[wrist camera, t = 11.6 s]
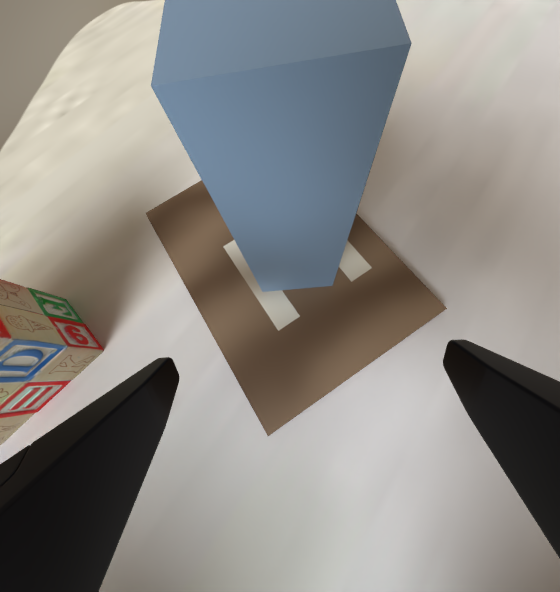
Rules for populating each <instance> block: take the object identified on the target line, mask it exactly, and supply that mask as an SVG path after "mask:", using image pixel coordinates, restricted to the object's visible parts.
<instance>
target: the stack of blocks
mask: <svg viewBox="0 0 560 592" xmlns="http://www.w3.org/2000/svg"><path fill="white" fill-rule="evenodd" d="M103 351H104V349H103V348H102V346H101V345H100V344H99V342H98V341H97V340H96V338H95V337H94V336H93V334H92V333H91V332H90V330H89V329H88V328H87V326H86V325H85V324H84V323H83V322H82V321H81V319H80V318H79V317H78V315H77V314H76V312H75V311H74V310H73V308H72V307H71V306H70V304H69V303H68V301H67V300H66V299H63V298H60V297H57V296H54V295H51V294H47V293H44V292H41V291H38V290H35V289H31V288H25V287H23V286H20V285H17V284H14V283H11V282H8V281H4V280H1V279H0V445H1V444H2V443H3V442H5V441H6V440H7V439H8V438H9V437H10V436H11V435H12V434H13V433H14V432H15V431H16V430H17V429H18V428H20V427H21V426H22V425H23V424H24V423H25V422H26V421H27V420H28V419H29V418H30V417H31V416H32V415H33V414H34V413H36V412H38V411H39V410H40V409H41V408H42V407H43V406H45V405H46V404H47V403H48V402H49V401H50V400H51V399H52V398H53V397H54V396H55V395H56V394H57V393H59V392H60V391H61V390H62V389H63V388H64V387H65V386H66V385H67V384H68V383H69V382H70V381H71V380H72V379H74V378H75V377H76V376H77V375H78V374H79V373H81V372H82V371H83V370H84V369H85V368H86V367H87V366H88V365H89V364H90V363H91V362H92V361H94V360H95V359H96V358H97V357H98V356H99V355H100V354H101V353H102V352H103Z"/></svg>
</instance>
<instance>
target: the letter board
mask: <svg viewBox="0 0 560 592" xmlns="http://www.w3.org/2000/svg"><path fill="white" fill-rule="evenodd" d="M146 215H147V217H148V218H149V220H150V222H151V224H152V226H153V228H154V229H155V231H156V233H157V235H158V237H159V238H160V240H161V242H162V244H163V246H164V248H165V249H166V251H167V253H168V255H169V257H170V259H171V260H172V262H173V264H174V266H175V268H176V269H177V271H178V273H179V275H180V277H181V279H182V280H183V282H184V284H185V286H186V288H187V289H188V291H189V293H190V295H191V297H192V299H193V300H194V302H195V304H196V306H197V308H198V309H199V311H200V313H201V315H202V317H203V319H204V320H205V322H206V324H207V326H208V328H209V330H210V331H211V333H212V335H213V337H214V339H215V340H216V342H217V344H218V346H219V348H220V350H221V351H222V353H223V355H224V357H225V359H226V360H227V362H228V364H229V366H230V368H231V370H232V371H233V373H234V375H235V377H236V379H237V380H238V382H239V384H240V386H241V388H242V390H243V391H244V393H245V395H246V397H247V399H248V400H249V402H250V404H251V406H252V408H253V410H254V411H255V413H256V415H257V417H258V419H259V421H260V422H261V424H262V426H263V428H264V430H265V431H266V433H267V435H268V436H269V435H270V434H272V433H273V432H275V431H276V430H277V429H279V428H280V427H282V426H283V425H284V424H286V423H287V422H289V421H290V420H291V419H293V418H294V417H296V416H297V415H298V414H300V413H301V412H303V411H304V410H305V409H307V408H308V407H310V406H311V405H312V404H314V403H315V402H317V401H318V400H319V399H321V398H322V397H324V396H325V395H326V394H328V393H329V392H331V391H332V390H333V389H335V388H336V387H338V386H339V385H340V384H342V383H343V382H345V381H346V380H347V379H349V378H350V377H352V376H353V375H354V374H356V373H357V372H359V371H360V370H361V369H363V368H364V367H366V366H367V365H368V364H370V363H371V362H373V361H374V360H375V359H377V358H378V357H380V356H381V355H382V354H384V353H385V352H387V351H388V350H389V349H391V348H392V347H394V346H395V345H396V344H398V343H399V342H401V341H402V340H403V339H405V338H406V337H408V336H409V335H410V334H412V333H413V332H415V331H416V330H417V329H419V328H420V327H422V326H423V325H424V324H426V323H427V322H429V321H430V320H431V319H433V318H434V317H436V316H437V315H438V314H440V313H441V312H443V311H444V310H445V309H447V308H446V307H445V306H444V305H443V304H442V303H441V302H440V301H439V300H438V299H437V298H436V297H435V296H434V294H433V293H432V292H431V291H430V290H429V289H428V288H427V287H426V286H425V285H424V284H423V283H422V282H421V281H420V280H419V279H418V278H417V277H416V276H415V275H414V273H413V272H412V271H411V270H410V269H409V268H408V267H407V266H406V265H405V264H404V263H403V262H402V261H401V260H400V259H399V258H398V257H397V256H396V255H395V254H394V253H393V251H392V250H391V249H390V248H389V247H388V246H387V245H386V244H385V243H384V242H383V241H382V240H381V239H380V238H379V237H378V236H377V235H376V234H375V233H374V232H373V230H372V229H371V228H370V227H369V226H368V225H367V224H366V223H365V222H364V221H363V220H362V219H361V218H360V217H359V216H358V215H357V214H356V215H355V218H354V221H353V224H352V227H351V230H350V233H349V237H348V240H347V243H346V246H345V249H344V252H343V255H342V258H341V261H340V264H339V267H338V270H337V273H336V276H335V280H334V283H333V286H325V287H313V288H302V289H291V290H279V291H268V292H262V290H261V288H260V286H259V284H258V283H257V281H256V279H255V277H254V275H253V273H252V271H251V270H250V268H249V266H248V264H247V262H246V260H245V259H244V257H243V255H242V253H241V251H240V249H239V247H238V246H237V244H236V242H235V240H234V238H233V236H232V235H231V233H230V231H229V229H228V227H227V225H226V223H225V222H224V220H223V218H222V216H221V214H220V212H219V210H218V209H217V207H216V205H215V203H214V201H213V199H212V198H211V196H210V194H209V192H208V190H207V188H206V186H205V185H204V183H203V181H202V180H201V181H200V182H198V183H196V184H195V185H193V186H191V187H189V188H188V189H186V190H184V191H183V192H181V193H179V194H178V195H176V196H174V197H172V198H171V199H169V200H167V201H166V202H164V203H162V204H160V205H159V206H157V207H155V208H154V209H152V210H150V211H149V212H147V213H146Z"/></svg>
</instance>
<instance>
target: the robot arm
mask: <svg viewBox="0 0 560 592" xmlns="http://www.w3.org/2000/svg"><path fill="white" fill-rule="evenodd" d="M443 365H444V368H445V370H446V372H447V374H448V376H449V378H450V380H451V382H452V384H453V386H454V388H455V390H456V392H457V394H458V396H459V398H460V400H461V402H462V404H463V406H464V408H465V410H466V411H467V413H468V415H469V417H470V418H471V420H472V422H473V423H474V425H475V426H476V428H477V430H478V431H479V433H480V434H481V436H482V437H483V439H484V441H485V442H486V444H487V445H488V447H489V448H490V450H491V452H492V453H493V455H494V456H495V458H496V459H497V461H498V463H499V464H500V466H501V467H502V469H503V470H504V472H505V474H506V475H507V477H508V478H509V480H510V481H511V483H512V485H513V486H514V488H515V489H516V491H517V492H518V494H519V496H520V497H521V499H522V500H523V502H524V503H525V505H526V507H527V508H528V510H529V511H530V513H531V514H532V516H533V518H534V519H535V521H536V522H537V524H538V525H539V527H540V528H541V530H542V532H543V533H544V535H545V536H546V538H547V539H548V541H549V543H550V544H551V546H552V547H553V549H554V550H555V552H556V554H557V555H558V557H559V558H560V382H559V381H557V380H555V379H552V378H550V377H548V376H546V375H543V374H541V373H539V372H537V371H534V370H532V369H530V368H528V367H526V366H523V365H521V364H519V363H517V362H514V361H512V360H510V359H508V358H505V357H503V356H501V355H499V354H496V353H494V352H492V351H490V350H487V349H485V348H483V347H481V346H478V345H476V344H474V343H472V342H469V341H467V340H451V341H449V342H448V344H447V348H446V351H445V355H444V359H443ZM178 383H179V374H178V371H177V369H176V366H175V364H174V362H173V360H172V359H171V358H169V357H166V358H158V359H156V360H155V361H153V362H152V363H150V364H149V365H147V366H146V367H144V368H143V369H141V370H140V371H138V372H137V373H135V374H134V375H132V376H131V377H129V378H128V379H127V380H125V381H124V382H122V383H121V384H119V385H118V386H116V387H115V388H113V389H112V390H110V391H109V392H107V393H106V394H104V395H103V396H101V397H100V398H98V399H97V400H95V401H94V402H92V403H91V404H89V405H88V406H86V407H85V408H83V409H82V410H80V411H79V412H77V413H76V414H75V415H73V416H72V417H70V418H69V419H67V420H66V421H64V422H63V423H61V424H60V425H58V426H57V427H55V428H54V429H52V430H51V431H49V432H48V433H46V434H45V435H43V436H42V437H40V438H39V439H37V440H36V441H34V442H33V443H32V444H31V446H27V447H25V448H24V449H22V450H21V451H19V452H18V453H17V454H15V455H14V456H12V457H11V458H9V459H8V460H6V461H5V462H3V463H2V464H0V592H99V589H100V587H101V585H102V582H103V580H104V577H105V575H106V572H107V570H108V567H109V565H110V562H111V560H112V557H113V555H114V552H115V550H116V548H117V545H118V543H119V540H120V538H121V535H122V533H123V530H124V528H125V525H126V523H127V520H128V518H129V515H130V513H131V511H132V508H133V506H134V503H135V501H136V498H137V496H138V493H139V491H140V488H141V486H142V483H143V481H144V478H145V476H146V474H147V471H148V469H149V466H150V464H151V461H152V459H153V456H154V454H155V451H156V449H157V446H158V444H159V441H160V439H161V436H162V434H163V431H164V429H165V426H166V423H167V420H168V417H169V414H170V410H171V407H172V403H173V400H174V397H175V393H176V390H177V387H178Z"/></svg>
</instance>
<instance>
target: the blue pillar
mask: <svg viewBox="0 0 560 592" xmlns="http://www.w3.org/2000/svg"><path fill="white" fill-rule="evenodd" d="M410 46H411V41H410V38H409V35H408V32H407V30H406V27H405V24H404V22H403V19H402V16H401V13H400V11H399V8H398V5H397V3H396V0H165V3H164V9H163V16H162V22H161V28H160V34H159V40H158V46H157V52H156V58H155V65H154V71H153V77H152V83H151V87H152V89H153V90H154V92H155V94H156V96H157V98H158V100H159V101H160V103H161V105H162V107H163V109H164V111H165V113H166V114H167V116H168V118H169V120H170V122H171V124H172V125H173V127H174V129H175V131H176V133H177V135H178V137H179V138H180V140H181V142H182V144H183V146H184V148H185V150H186V151H187V153H188V155H189V157H190V159H191V161H192V162H193V164H194V166H195V168H196V170H197V172H198V174H199V175H200V177H201V179H202V181H203V183H204V185H205V186H206V188H207V190H208V192H209V194H210V196H211V198H212V199H213V201H214V203H215V205H216V207H217V209H218V210H219V212H220V214H221V216H222V218H223V220H224V222H225V223H226V225H227V227H228V229H229V231H230V233H231V235H232V236H233V238H234V240H235V242H236V244H237V246H238V247H239V249H240V251H241V253H242V255H243V257H244V259H245V260H246V262H247V264H248V266H249V268H250V270H251V271H252V273H253V275H254V277H255V279H256V281H257V283H258V284H259V286H260V288H261V290H262V292H268V291H279V290H291V289H302V288H313V287H325V286H333V283H334V280H335V276H336V273H337V270H338V267H339V264H340V261H341V258H342V255H343V252H344V249H345V246H346V243H347V240H348V237H349V233H350V230H351V227H352V224H353V221H354V218H355V215H356V212H357V209H358V206H359V203H360V200H361V197H362V194H363V190H364V187H365V184H366V181H367V178H368V175H369V172H370V169H371V166H372V163H373V160H374V157H375V154H376V151H377V148H378V144H379V141H380V138H381V135H382V132H383V129H384V126H385V123H386V120H387V117H388V114H389V111H390V108H391V105H392V101H393V98H394V95H395V92H396V89H397V86H398V83H399V80H400V77H401V74H402V71H403V68H404V65H405V62H406V59H407V55H408V52H409V49H410Z"/></svg>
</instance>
